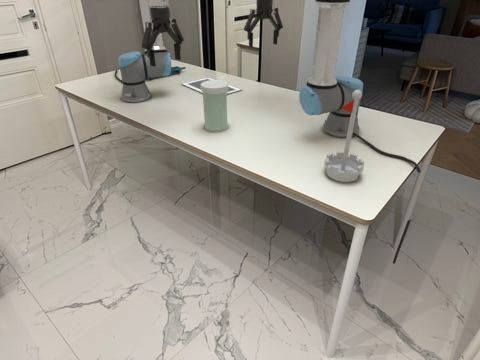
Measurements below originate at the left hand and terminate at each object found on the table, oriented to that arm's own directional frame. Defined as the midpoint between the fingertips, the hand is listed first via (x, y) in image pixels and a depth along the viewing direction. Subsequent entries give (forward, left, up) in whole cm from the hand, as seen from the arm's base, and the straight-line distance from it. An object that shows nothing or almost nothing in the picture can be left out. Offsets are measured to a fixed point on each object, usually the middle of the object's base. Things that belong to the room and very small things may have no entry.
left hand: (165, 62), depth 144 cm
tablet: (-21, +48, -27) cm, 59 cm away
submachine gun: (-68, +46, -27) cm, 87 cm away
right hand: (+14, +50, +1) cm, 52 cm away
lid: (+19, +9, -8) cm, 23 cm away
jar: (+20, +9, -27) cm, 34 cm away
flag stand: (+81, +8, -27) cm, 86 cm away
